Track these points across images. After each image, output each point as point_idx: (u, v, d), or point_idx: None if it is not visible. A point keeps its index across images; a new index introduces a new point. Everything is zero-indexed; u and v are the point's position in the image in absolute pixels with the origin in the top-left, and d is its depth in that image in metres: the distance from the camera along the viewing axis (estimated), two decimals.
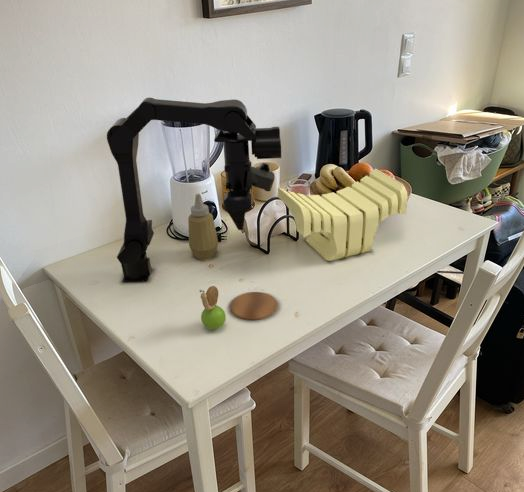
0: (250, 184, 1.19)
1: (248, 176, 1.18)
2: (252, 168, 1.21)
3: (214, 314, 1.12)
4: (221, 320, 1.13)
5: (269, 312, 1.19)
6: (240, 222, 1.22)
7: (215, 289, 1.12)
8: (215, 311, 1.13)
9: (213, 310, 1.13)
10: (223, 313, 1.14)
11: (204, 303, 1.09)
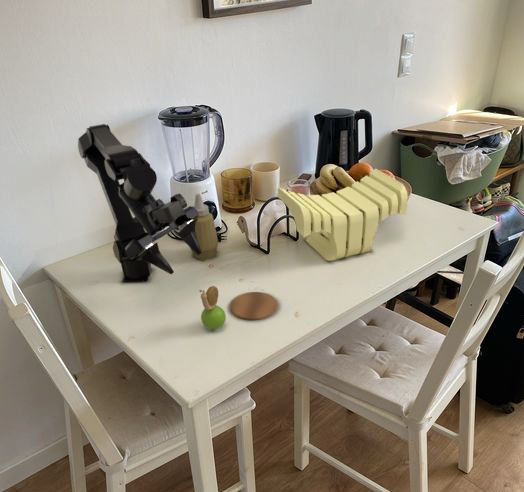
0: (153, 223, 1.08)
1: (148, 217, 1.08)
2: (159, 206, 1.10)
3: (214, 314, 1.12)
4: (221, 320, 1.13)
5: (269, 312, 1.19)
6: (164, 266, 1.10)
7: (215, 289, 1.12)
8: (215, 311, 1.13)
9: (213, 310, 1.13)
10: (223, 313, 1.14)
11: (204, 303, 1.09)
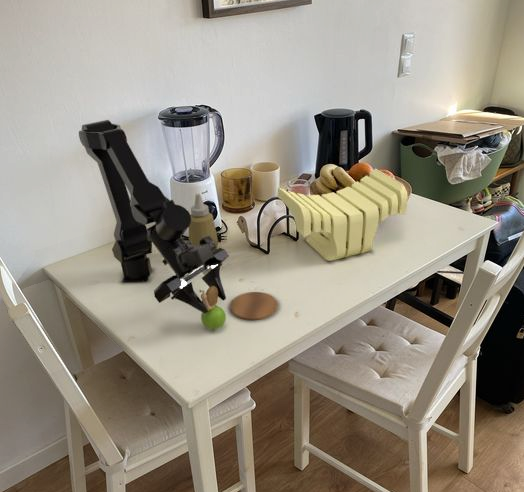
0: (182, 266, 1.07)
1: (177, 259, 1.08)
2: (189, 248, 1.09)
3: (214, 314, 1.12)
4: (221, 320, 1.13)
5: (269, 312, 1.19)
6: (198, 305, 1.09)
7: (215, 289, 1.12)
8: (215, 311, 1.13)
9: (213, 310, 1.13)
10: (223, 313, 1.14)
11: (204, 303, 1.09)
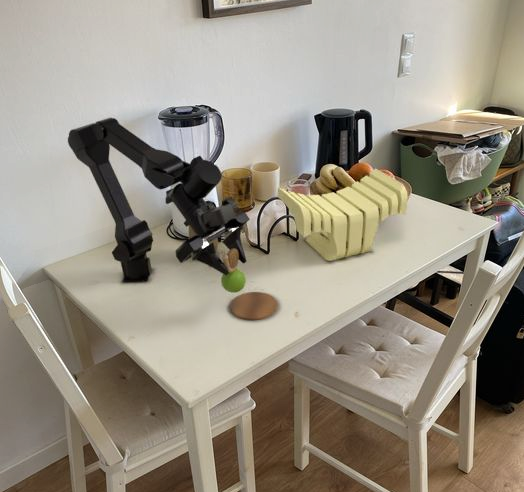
0: (204, 226, 1.07)
1: (199, 220, 1.07)
2: (211, 209, 1.09)
3: (235, 277, 1.12)
4: (241, 283, 1.13)
5: (269, 312, 1.19)
6: (220, 266, 1.09)
7: (236, 251, 1.11)
8: (235, 274, 1.12)
9: (233, 273, 1.12)
10: (243, 276, 1.14)
11: (225, 265, 1.09)
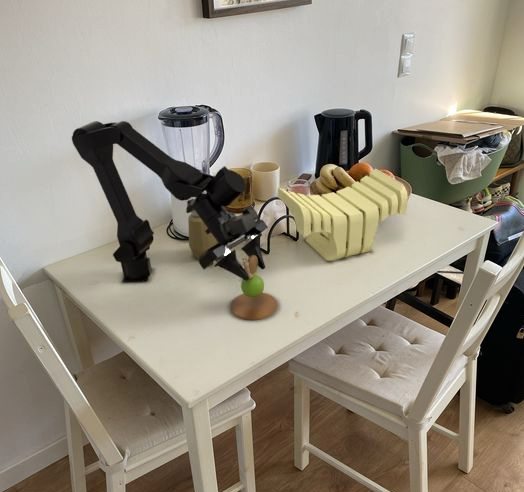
0: (226, 235, 1.12)
1: (221, 228, 1.12)
2: (232, 218, 1.14)
3: (254, 282, 1.17)
4: (260, 288, 1.18)
5: (269, 312, 1.19)
6: (241, 273, 1.14)
7: (256, 258, 1.16)
8: (255, 279, 1.17)
9: (253, 278, 1.18)
10: (262, 282, 1.19)
11: (246, 271, 1.14)
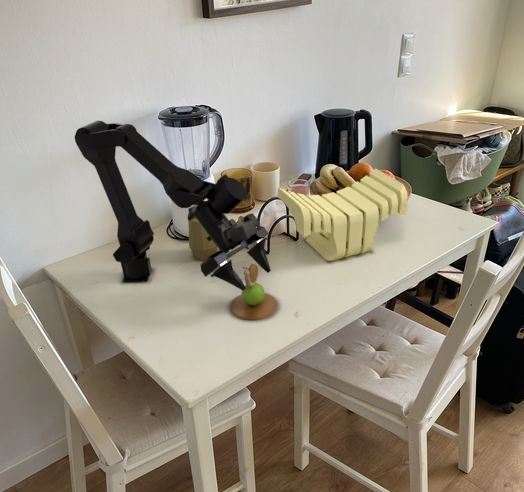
0: (227, 242, 1.13)
1: (222, 235, 1.13)
2: (233, 225, 1.15)
3: (255, 291, 1.18)
4: (261, 296, 1.19)
5: (269, 312, 1.19)
6: (237, 282, 1.14)
7: (256, 266, 1.18)
8: (255, 288, 1.19)
9: (254, 287, 1.19)
10: (263, 290, 1.20)
11: (246, 279, 1.15)
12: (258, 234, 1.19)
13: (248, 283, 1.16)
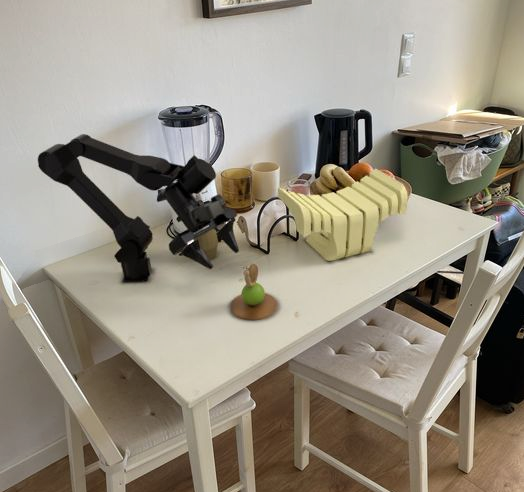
0: (195, 221, 1.16)
1: (190, 215, 1.17)
2: (201, 206, 1.18)
3: (255, 291, 1.18)
4: (261, 296, 1.19)
5: (269, 312, 1.19)
6: (204, 261, 1.17)
7: (256, 266, 1.18)
8: (255, 288, 1.19)
9: (254, 287, 1.19)
10: (263, 290, 1.20)
11: (246, 279, 1.15)
12: (226, 215, 1.22)
13: (248, 283, 1.16)
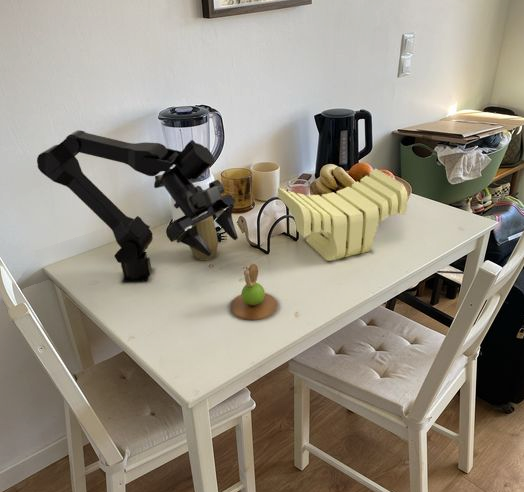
0: (193, 207, 1.15)
1: (188, 201, 1.15)
2: (199, 192, 1.17)
3: (255, 291, 1.18)
4: (261, 296, 1.19)
5: (269, 312, 1.19)
6: (203, 248, 1.15)
7: (256, 266, 1.18)
8: (255, 288, 1.19)
9: (254, 287, 1.19)
10: (263, 290, 1.20)
11: (246, 279, 1.15)
12: (225, 201, 1.20)
13: (248, 283, 1.16)
